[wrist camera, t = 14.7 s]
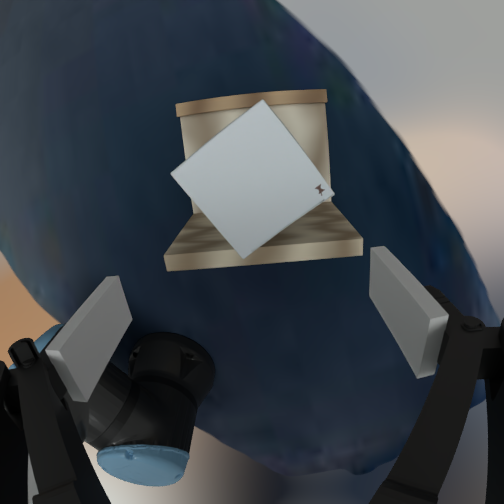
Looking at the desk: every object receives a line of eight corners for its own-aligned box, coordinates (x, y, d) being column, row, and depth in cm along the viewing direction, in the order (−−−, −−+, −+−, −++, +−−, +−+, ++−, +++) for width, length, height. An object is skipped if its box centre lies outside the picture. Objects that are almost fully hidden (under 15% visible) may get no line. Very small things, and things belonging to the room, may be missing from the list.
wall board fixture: (196, 223, 43) (167, 271, 29) (180, 105, 37) (138, 96, 23) (330, 211, 42) (362, 255, 28) (322, 91, 36) (355, 73, 22)
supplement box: (264, 107, 37) (266, 93, 21) (309, 165, 39) (341, 192, 24) (203, 154, 39) (165, 174, 23) (249, 209, 42) (242, 263, 26)
